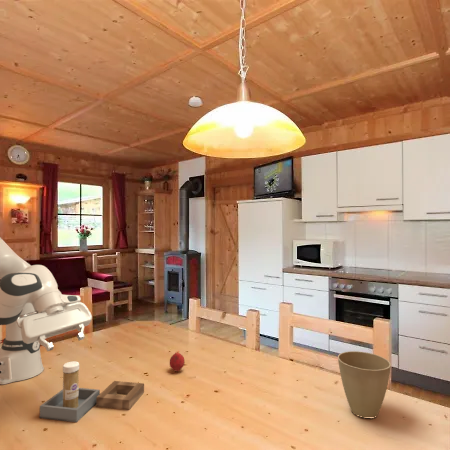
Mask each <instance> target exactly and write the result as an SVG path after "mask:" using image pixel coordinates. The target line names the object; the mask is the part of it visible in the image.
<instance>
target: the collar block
mask: <svg viewBox="0 0 450 450" xmlns="http://www.w3.org/2000/svg"><path fill="white" fill-rule="evenodd" d="M144 392H145V384H144V382H143V383H141V382H131V381H120V380H119V381H118V380H114V381H112V382H111V383H110V384H109V385H108V386H107V387H106V388H105V389H104V390H102V391H101V392H100V394H99V395H98V396H97V398H96V405H95V407H96V408H97V407H98V408H104V409H105V408H106V409H114V410H115V409H116V410H124V411H131V409H132V407H133V406H134V405H135V404H136V403H137V401H138V400H139V399H140V398H141V397H142V395H144Z"/></svg>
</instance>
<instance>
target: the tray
mask: <svg viewBox="0 0 450 450" xmlns="http://www.w3.org/2000/svg"><path fill="white" fill-rule="evenodd" d="M100 393H101V392H100V389H98V388H96V389H95V388H85V387H79V395H78V404H79V405H78V407H77V408H68V407H63V388H62V389H61V390H59V391H58V392H57V393H55V394H54V395H53V396H52V397H50V398H49V399H47V400H46V401H45V402H43V403H42V404H41V405H39V419H44V420H53V421H61V422H70V423H71V422H73V423H78V422H79V421H80V420H81V419H82V418H83V417H85V415H86V414H87V413H88V412H90V410H92V409H93V408H94V407H95V406H96V398H97V396H98V395H99V394H100Z"/></svg>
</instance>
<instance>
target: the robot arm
mask: <svg viewBox="0 0 450 450" xmlns="http://www.w3.org/2000/svg"><path fill="white" fill-rule="evenodd" d="M58 287H59V285H58V283H57V280H56V279H55V277H54V275H53V273H52V272H51V271H50V270H49V269H48V267H46V266H45V265H42V264H33V265H31V264H30V263H29V262H27V261H26V260H24V259H23V258H22V257H20V256H19V255H18V254H17V253H16V252H15V251H14V250H13V249H12V248H11V247H10V246H9V245H8V244H7V243H6V242H5V241H4V240H3V238H2V237H1V236H0V326H5V337H4V338H3V339H0V344H1V347H0V385H8V384H11V383H14V382H19V381H24V380H28V379H31V378H33V377H36V376H38V375H40V374H41V373H43V372H44V369H45V367H44V365H43V362H42V361H43V360H42V357H41V356H42V354H41V349H40V347H41V346H42V347H44V348H45V349H46V352H51V351H53V349H54V348H55V347H54V345H53V342H52V341H51V342H49V341H47V340H46V339H48V338H51V337H55V336H58V335H62V334H65V333H68V332H71V331H74V330H77V332H78V333H77V334H76V335H77V336H76V338H77V340H78V342H79V341H82V340H83V341H84V339H85V338H86V336H85V334H84V329H85V327H87V326H89V325H90V324H91V322H92V320H93V316H92V313H91V311H90V309H89V308H88V306H87V305H86V304H85V303H83V302H82V301H81V300H82V298H81V296H80V295H71V294H62V292H61V291H60V289H58Z"/></svg>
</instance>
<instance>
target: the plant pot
mask: <svg viewBox="0 0 450 450" xmlns="http://www.w3.org/2000/svg"><path fill="white" fill-rule="evenodd" d="M337 362H338V366H339V373H340V379H341V383H342V387H343V390H344V394H345V398H346V400H347V403H348V405H349V409H350V412H351V413H352V412H353V413H355V414H356V415H359V416H362V417H375V416H377V417H378V415H379V412H380V410H381V408H382V406H383V402H384V399H385V396H386V393H387V389H388V385H389V384H388V383H389V380H390V374H391V367H392V364H391V362H390V361H389V360H388V359H387V358H386V357H383V356H381V355H379V354H375V353H371V352H367V351H359V350H356V351H355V350H353V351H351V350H350V351H344V352H340V353H339V354H338V356H337ZM353 413H352V414H353ZM355 414H354V415H355ZM356 415H355V416H356Z"/></svg>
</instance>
